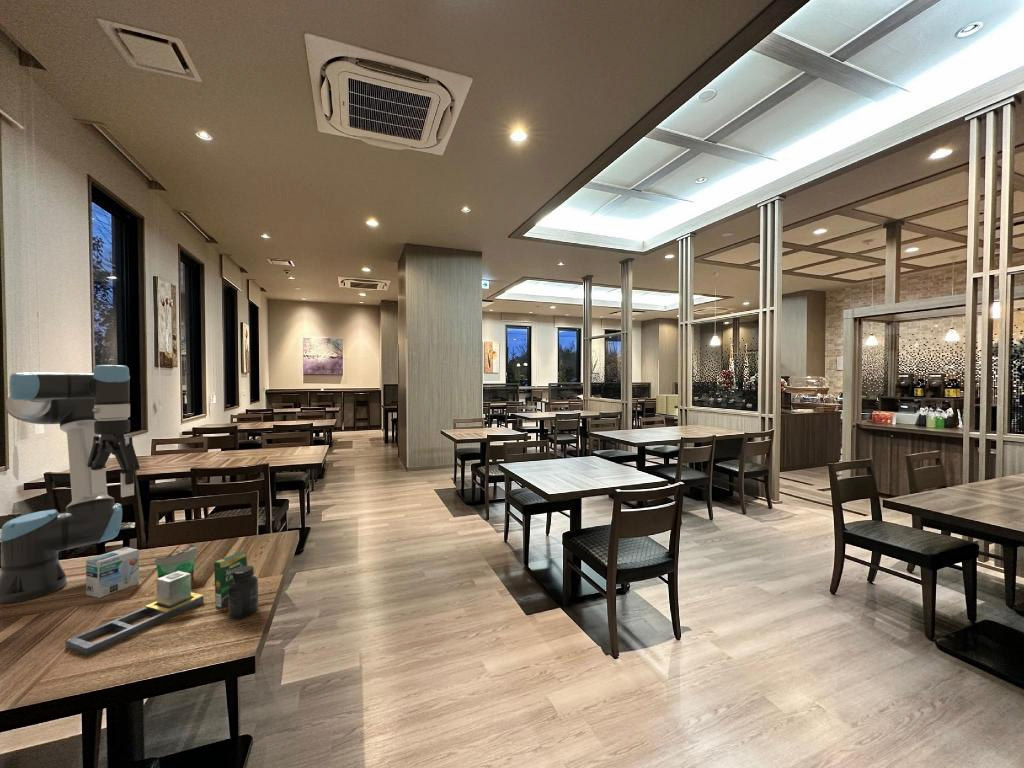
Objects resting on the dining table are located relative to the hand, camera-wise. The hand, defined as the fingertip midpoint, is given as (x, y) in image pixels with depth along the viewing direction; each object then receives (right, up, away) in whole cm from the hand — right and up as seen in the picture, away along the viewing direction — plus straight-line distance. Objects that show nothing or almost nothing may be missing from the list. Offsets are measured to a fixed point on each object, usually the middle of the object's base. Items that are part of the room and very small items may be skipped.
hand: (113, 494), depth 122 cm
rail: (+16, -32, -9) cm, 37 cm away
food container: (+9, -32, +14) cm, 36 cm away
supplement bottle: (+40, -31, -5) cm, 51 cm away
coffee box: (+33, -32, +1) cm, 46 cm away
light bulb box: (-9, -32, +10) cm, 35 cm away
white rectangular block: (+19, -32, -2) cm, 37 cm away
